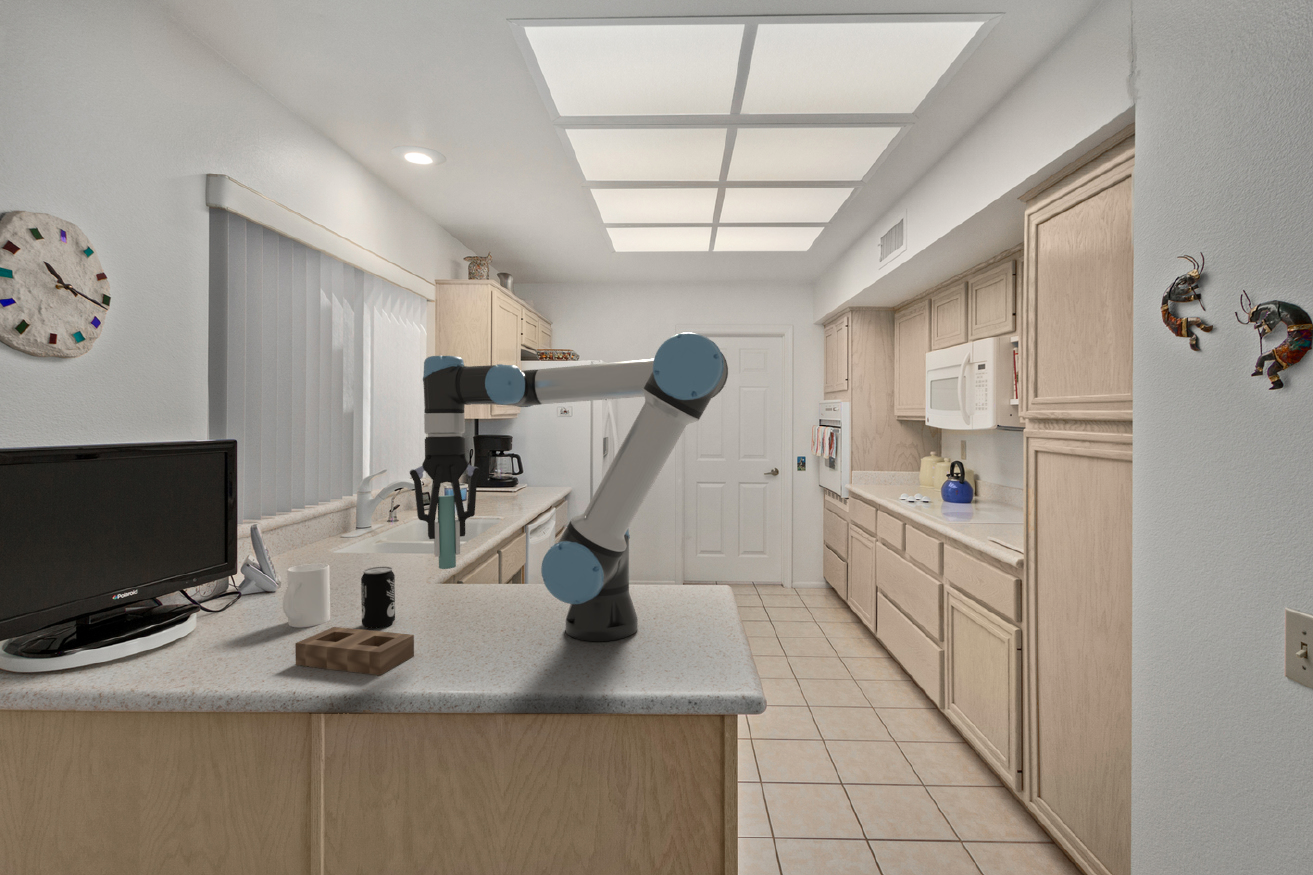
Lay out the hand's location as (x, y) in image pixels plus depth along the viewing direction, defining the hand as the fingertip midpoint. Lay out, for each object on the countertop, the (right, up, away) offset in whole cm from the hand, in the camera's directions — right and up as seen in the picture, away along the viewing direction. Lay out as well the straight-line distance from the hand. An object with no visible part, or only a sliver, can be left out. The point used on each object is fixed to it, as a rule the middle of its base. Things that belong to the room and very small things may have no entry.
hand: (447, 553), depth 119 cm
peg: (0, -3, 0) cm, 3 cm away
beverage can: (-19, -18, +12) cm, 28 cm away
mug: (-35, -18, +12) cm, 41 cm away
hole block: (-14, -18, -8) cm, 24 cm away
